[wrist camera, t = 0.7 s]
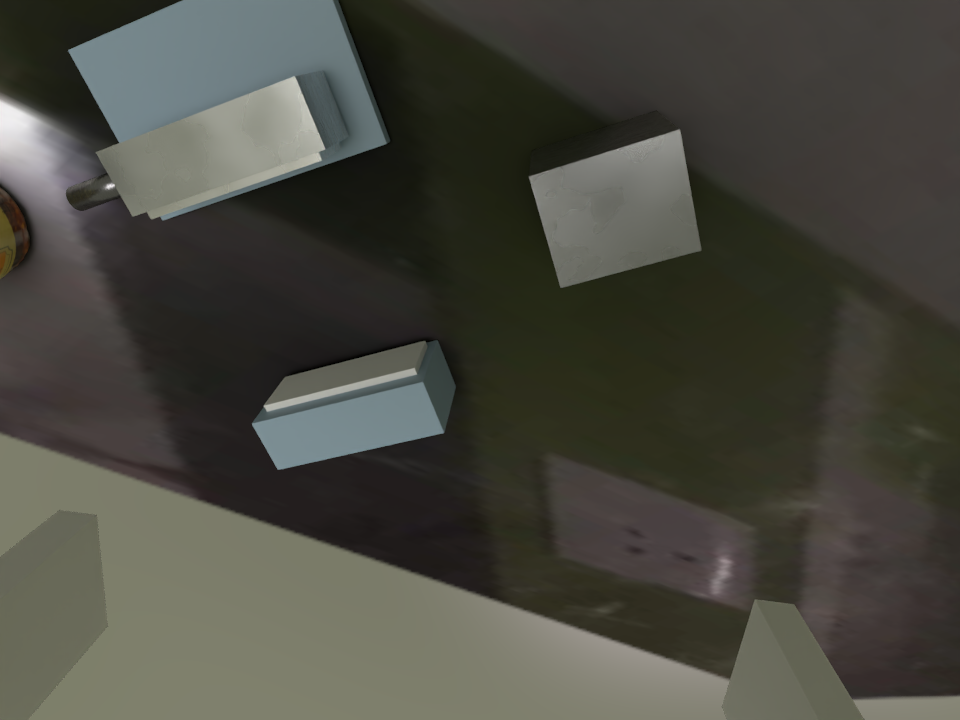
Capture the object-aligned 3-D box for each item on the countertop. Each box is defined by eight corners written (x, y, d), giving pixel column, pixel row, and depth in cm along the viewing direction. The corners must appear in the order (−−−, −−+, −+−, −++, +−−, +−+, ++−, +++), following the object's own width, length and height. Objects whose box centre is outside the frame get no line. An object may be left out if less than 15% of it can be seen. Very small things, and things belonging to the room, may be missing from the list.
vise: (317, -54, 27) (275, -68, 23) (480, 380, 37) (471, 426, 33) (79, 49, 30) (3, 53, 26) (285, 427, 40) (255, 475, 36)
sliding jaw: (322, 70, 29) (294, 75, 25) (352, 144, 30) (329, 158, 27) (83, 161, 32) (31, 176, 29) (120, 225, 33) (75, 246, 30)
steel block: (656, 110, 29) (680, 129, 24) (675, 212, 31) (701, 250, 26) (531, 150, 31) (528, 176, 25) (558, 245, 33) (560, 287, 28)
